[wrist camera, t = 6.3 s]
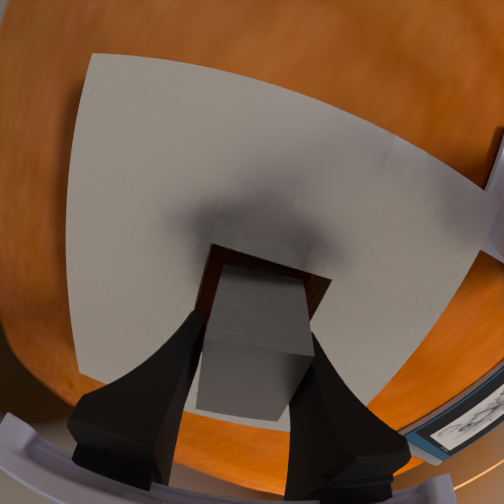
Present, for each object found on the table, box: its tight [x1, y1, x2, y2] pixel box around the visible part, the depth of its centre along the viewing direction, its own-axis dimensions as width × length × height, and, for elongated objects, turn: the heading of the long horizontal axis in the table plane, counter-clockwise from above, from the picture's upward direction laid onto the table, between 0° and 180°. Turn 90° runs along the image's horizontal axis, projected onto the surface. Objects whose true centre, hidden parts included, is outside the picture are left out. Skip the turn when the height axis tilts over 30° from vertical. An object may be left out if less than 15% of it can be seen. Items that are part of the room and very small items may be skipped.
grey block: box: [195, 250, 315, 422], centre depth 13 cm, size 4×4×8 cm
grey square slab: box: [66, 53, 501, 432], centre depth 15 cm, size 20×20×3 cm
